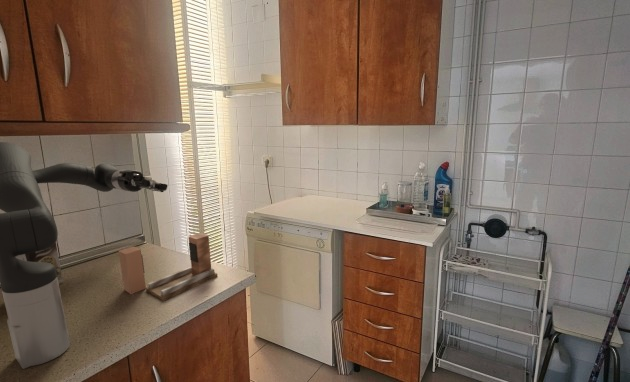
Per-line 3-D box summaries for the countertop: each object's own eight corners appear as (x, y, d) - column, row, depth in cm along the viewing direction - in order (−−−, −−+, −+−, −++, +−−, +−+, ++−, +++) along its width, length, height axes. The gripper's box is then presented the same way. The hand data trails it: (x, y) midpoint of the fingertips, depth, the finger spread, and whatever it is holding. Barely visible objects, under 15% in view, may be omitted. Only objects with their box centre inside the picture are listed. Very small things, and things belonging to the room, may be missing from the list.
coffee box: (36, 296, 100) (25, 246, 96) (19, 294, 101) (8, 244, 98) (64, 282, 108) (55, 235, 105) (48, 280, 110) (39, 234, 106)
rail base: (163, 300, 96) (157, 255, 93) (146, 290, 102) (140, 248, 99) (217, 276, 111) (214, 236, 108) (199, 268, 117) (196, 231, 114)
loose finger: (131, 294, 100) (125, 254, 97) (124, 289, 103) (118, 250, 100) (147, 287, 104) (142, 249, 101) (140, 283, 107) (135, 245, 104)
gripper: (142, 196, 122) (169, 200, 113) (103, 183, 110) (130, 187, 102) (149, 177, 124) (176, 179, 115) (111, 163, 112) (138, 164, 103)
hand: (154, 183), depth 108 cm, fingers open, 8 cm apart
